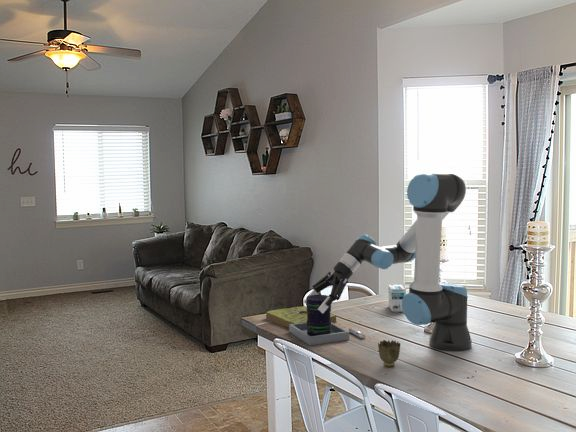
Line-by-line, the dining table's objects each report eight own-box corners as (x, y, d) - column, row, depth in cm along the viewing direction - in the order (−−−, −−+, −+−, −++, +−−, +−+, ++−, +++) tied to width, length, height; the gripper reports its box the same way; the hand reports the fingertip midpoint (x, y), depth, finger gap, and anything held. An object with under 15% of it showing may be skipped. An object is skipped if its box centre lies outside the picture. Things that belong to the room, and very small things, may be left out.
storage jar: (330, 330, 238) (329, 294, 237) (332, 337, 228) (332, 299, 227) (305, 331, 238) (305, 294, 237) (307, 338, 228) (307, 300, 227)
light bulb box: (406, 312, 269) (406, 288, 268) (391, 312, 269) (391, 289, 268) (402, 306, 279) (402, 284, 278) (388, 306, 279) (387, 284, 278)
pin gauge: (360, 335, 228) (361, 340, 228) (364, 333, 229) (366, 337, 229) (348, 329, 237) (349, 333, 238) (352, 326, 238) (353, 331, 238)
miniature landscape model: (305, 312, 273) (305, 301, 272) (336, 323, 253) (336, 312, 253) (265, 319, 261) (265, 308, 260) (295, 331, 241) (295, 319, 241)
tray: (349, 339, 227) (349, 331, 227) (309, 345, 221) (309, 337, 221) (326, 326, 246) (326, 319, 246) (289, 331, 239) (289, 324, 239)
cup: (385, 360, 202) (385, 338, 202) (404, 365, 198) (404, 342, 197) (374, 366, 197) (373, 343, 196) (393, 371, 192) (393, 347, 191)
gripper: (367, 278, 226) (333, 320, 221) (338, 268, 249) (306, 306, 244) (355, 265, 223) (320, 308, 219) (326, 256, 246) (294, 295, 242)
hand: (312, 307), depth 231 cm, fingers open, 13 cm apart
